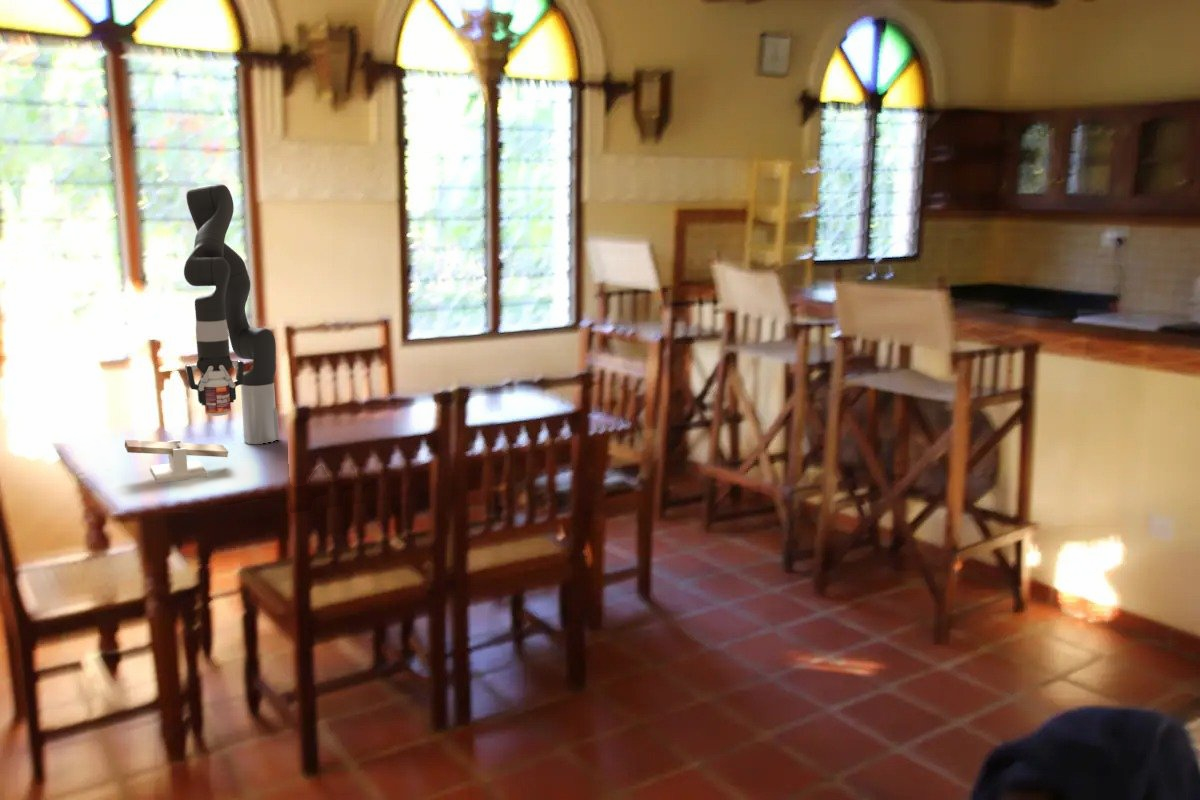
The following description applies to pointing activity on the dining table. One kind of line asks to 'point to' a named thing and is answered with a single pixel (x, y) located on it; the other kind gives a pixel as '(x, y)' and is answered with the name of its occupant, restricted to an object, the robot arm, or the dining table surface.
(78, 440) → the dining table surface
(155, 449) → the board
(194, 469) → the pivot stand
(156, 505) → the dining table surface
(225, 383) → the pill bottle
